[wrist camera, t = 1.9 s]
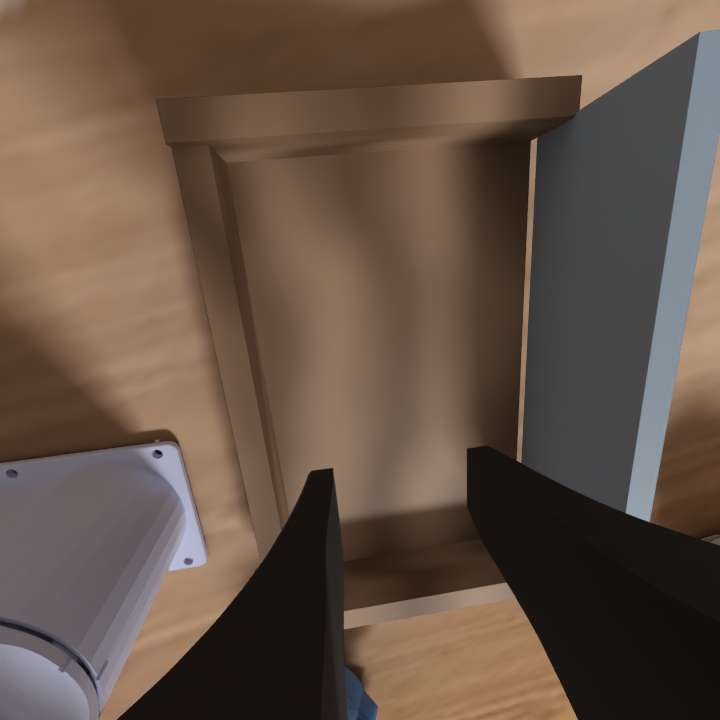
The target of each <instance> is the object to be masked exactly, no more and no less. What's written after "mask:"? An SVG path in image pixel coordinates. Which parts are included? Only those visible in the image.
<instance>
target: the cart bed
mask: <svg viewBox="0 0 720 720" xmlns="http://www.w3.org/2000/svg"><path fill="white" fill-rule="evenodd" d="M581 83H582V75H576V76H559V77H541V78H523V79H505V80H488V81H470V82H452V83H435V84H417V85H399V86H382V87H364V88H346V89H329V90H311V91H293V92H275V93H258V94H240V95H222V96H205V97H187V98H169V99H156V102H157V107H158V111H159V116H160V121H161V125H162V130H163V134H164V139H165V143H166V144H167V145H169V146H170V147H171V148H172V152H173V157H174V161H175V166H176V171H177V175H178V180H179V185H180V189H181V194H182V198H183V203H184V208H185V212H186V217H187V222H188V226H189V231H190V236H191V240H192V245H193V249H194V254H195V259H196V263H197V268H198V273H199V277H200V282H201V287H202V291H203V296H204V300H205V305H206V310H207V314H208V319H209V324H210V328H211V333H212V337H213V342H214V347H215V351H216V356H217V361H218V365H219V370H220V375H221V379H222V384H223V388H224V393H225V398H226V402H227V407H228V412H229V416H230V421H231V425H232V430H233V435H234V439H235V444H236V449H237V453H238V458H239V463H240V467H241V472H242V476H243V481H244V486H245V490H246V495H247V500H248V504H249V509H250V514H251V518H252V523H253V527H254V532H255V537H256V541H257V546H258V551H259V555H260V560H261V563H262V561H263V560H264V558H265V557H266V555H267V554H268V552H269V551H270V549H271V547H272V546H273V544H274V542H275V541H276V539H277V537H278V536H279V534H280V532H281V531H282V529H283V527H284V526H285V524H286V522H287V520H288V518H289V516H290V514H291V512H292V510H293V508H294V507H295V505H296V503H297V500H298V498H299V496H300V494H301V492H302V489H303V487H304V485H305V482H306V479H307V476H308V474H309V473H310V472H311V471H313V470H320V469H327V468H333V472H334V480H335V488H336V495H337V503H338V511H339V519H340V527H341V537H342V547H343V558H344V629H349V628H355V627H360V626H366V625H371V624H377V623H382V622H388V621H393V620H399V619H404V618H410V617H416V616H421V615H427V614H432V613H438V612H443V611H449V610H454V609H460V608H465V607H471V606H476V605H482V604H487V603H493V602H498V601H504V600H509V599H515V598H516V597H515V596H514V594H513V592H512V591H511V589H510V587H509V586H508V584H507V582H506V581H505V579H504V577H503V576H502V574H501V572H500V571H499V569H498V567H497V566H496V564H495V562H494V561H493V559H492V557H491V556H490V554H489V552H488V551H487V549H486V547H485V545H484V544H483V542H482V540H481V538H480V536H479V534H478V532H477V529H476V527H475V525H474V523H473V520H472V518H471V516H470V513H469V511H468V509H467V448H473V447H480V446H489V447H491V448H493V449H495V450H497V451H499V452H501V453H503V454H505V455H507V456H509V457H511V458H512V459H514V460H517V437H518V415H519V393H520V370H521V348H522V325H523V303H524V280H525V258H526V236H527V213H528V191H529V168H530V146H531V140H533V139H535V138H537V137H539V136H541V135H543V134H545V133H547V132H549V131H551V130H552V129H554V128H556V127H558V126H560V125H562V124H564V123H565V122H567V121H569V120H570V119H572V118H573V117H575V116H576V112H578V111H579V109H580V96H581Z"/></svg>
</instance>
